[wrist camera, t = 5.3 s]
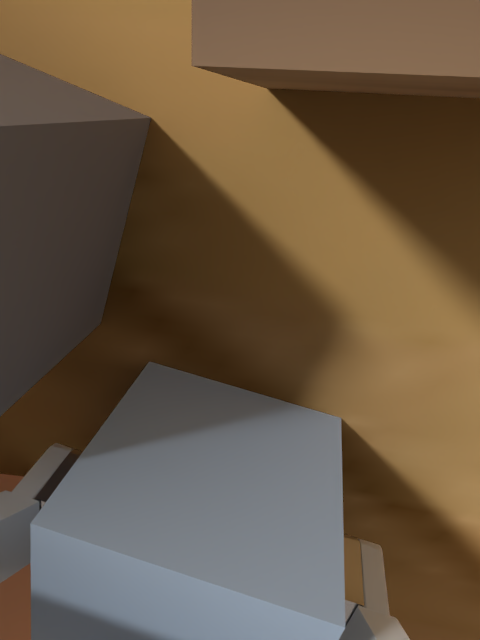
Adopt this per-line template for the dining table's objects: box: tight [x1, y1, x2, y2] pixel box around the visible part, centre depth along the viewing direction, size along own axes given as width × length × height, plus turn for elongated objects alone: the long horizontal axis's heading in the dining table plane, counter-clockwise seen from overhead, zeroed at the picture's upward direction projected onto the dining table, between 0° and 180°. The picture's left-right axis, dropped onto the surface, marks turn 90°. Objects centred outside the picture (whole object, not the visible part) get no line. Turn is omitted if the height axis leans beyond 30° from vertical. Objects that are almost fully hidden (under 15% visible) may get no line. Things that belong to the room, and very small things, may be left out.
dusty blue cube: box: [30, 361, 345, 640], centre depth 10 cm, size 5×5×5 cm
